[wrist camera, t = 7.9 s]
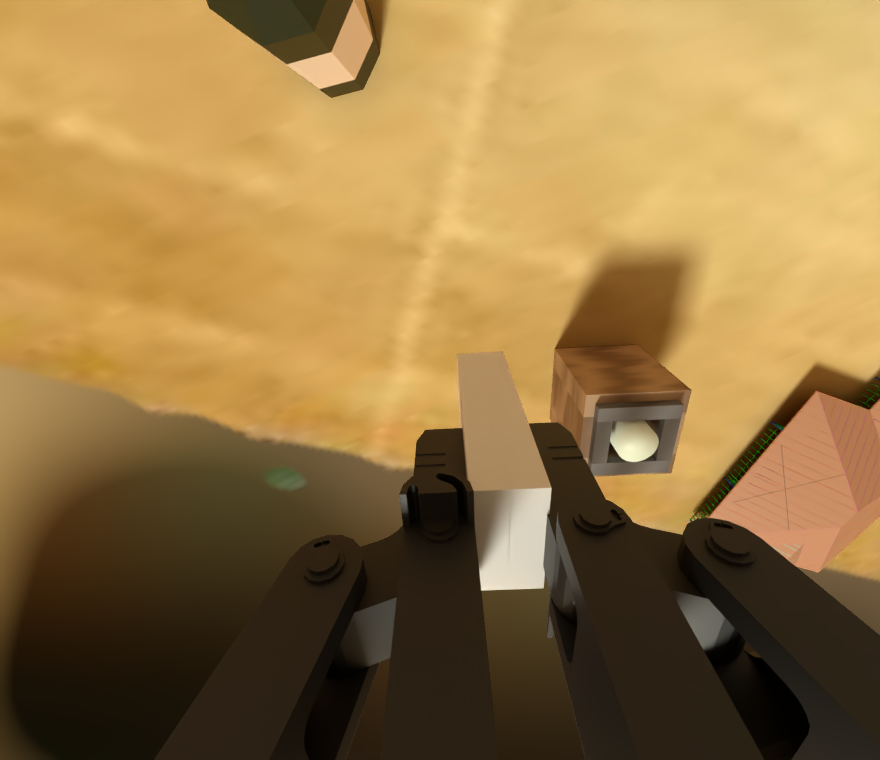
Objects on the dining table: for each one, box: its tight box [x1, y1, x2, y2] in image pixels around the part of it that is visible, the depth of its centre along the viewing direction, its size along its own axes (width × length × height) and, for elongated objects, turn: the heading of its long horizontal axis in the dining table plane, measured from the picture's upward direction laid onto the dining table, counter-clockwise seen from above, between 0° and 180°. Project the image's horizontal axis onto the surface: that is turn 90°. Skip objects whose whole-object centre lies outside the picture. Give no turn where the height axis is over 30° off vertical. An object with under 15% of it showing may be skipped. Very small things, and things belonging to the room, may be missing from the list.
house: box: [690, 377, 880, 572], centre depth 55 cm, size 23×33×8 cm
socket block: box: [550, 345, 691, 476], centre depth 46 cm, size 10×10×13 cm
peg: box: [610, 420, 659, 462], centre depth 45 cm, size 4×4×12 cm
